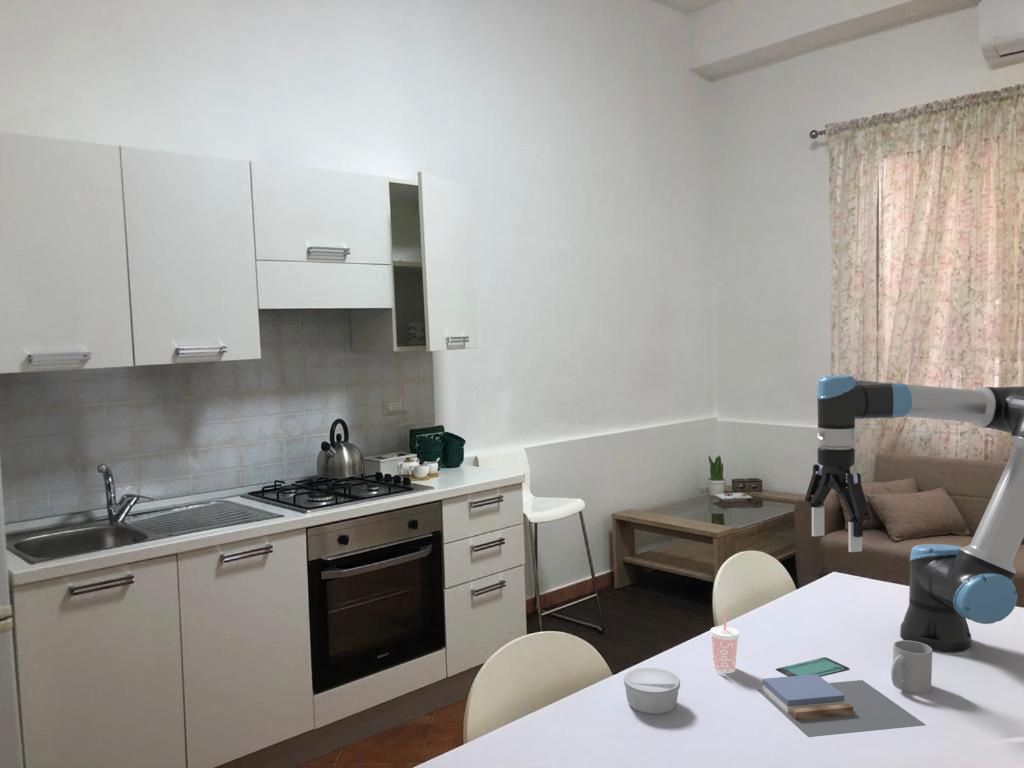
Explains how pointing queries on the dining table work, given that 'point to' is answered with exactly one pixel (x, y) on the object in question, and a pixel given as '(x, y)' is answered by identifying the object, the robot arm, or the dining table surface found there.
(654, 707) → the ramekin
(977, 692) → the dining table surface
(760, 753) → the dining table surface
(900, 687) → the cup
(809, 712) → the strip
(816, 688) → the blue-grey flat block
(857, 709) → the mat
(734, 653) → the beverage cup
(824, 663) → the smartphone
